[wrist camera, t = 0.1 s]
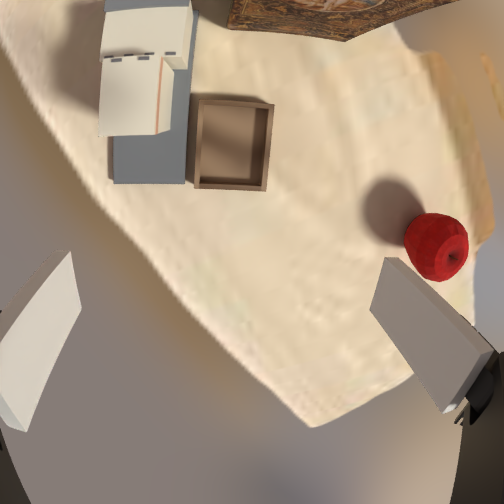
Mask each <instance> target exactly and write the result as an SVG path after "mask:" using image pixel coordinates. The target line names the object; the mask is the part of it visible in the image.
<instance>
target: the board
mask: <svg viewBox="0 0 504 504" xmlns="http://www.w3.org/2000/svg"><path fill="white" fill-rule="evenodd" d="M192 11H193V24H192V32H191V41H190V49H189V59H188V69H172V70H173V72H174V81H173V93H172V107H171V122H170V130H168V131H164V132H161V133H158V134H156V135H126V136H114V137H113V176H114V184H185V177H186V152H187V133H188V117H189V103H190V91H191V79H192V69H193V59H194V49H195V40H196V32H197V24H198V16H199V10H192Z"/></svg>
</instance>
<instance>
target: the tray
mask: <svg viewBox="0 0 504 504" xmlns="http://www.w3.org/2000/svg"><path fill="white" fill-rule="evenodd" d="M273 116H274V104H265V103H255V102H243V101H229V100H209V99H199V108H198V122H197V137H196V155H195V177H194V188H195V189H225V190H247V191H265V192H266V187H267V177H268V167H269V157H270V147H271V136H272V126H273Z"/></svg>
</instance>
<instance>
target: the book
mask: <svg viewBox="0 0 504 504" xmlns="http://www.w3.org/2000/svg"><path fill="white" fill-rule="evenodd" d="M455 1H459V0H232V4H231V8H230V12H229V16H228V21H227V28H228V29H230V30H243V31H261V32H275V33H286V34H295V35H304V36H311V37H318V38H324V39H330V40H336V41H342V42H346V41H348V40H350V39H352V38H354V37H357V36H359V35H361V34H364V33H366V32H368V31H371V30H373V29H376V28H378V27H381V26H383V25H386V24H388V23H391V22H393V21H396V20H399V19H401V18H404V17H407V16H410V15H413V14H416V13H418V12H422V11H424V10H428V9H431V8H434V7H437V6H441V5H444V4H448V3H451V2H455Z"/></svg>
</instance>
